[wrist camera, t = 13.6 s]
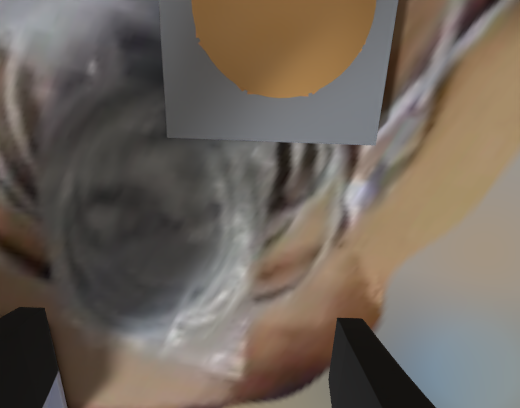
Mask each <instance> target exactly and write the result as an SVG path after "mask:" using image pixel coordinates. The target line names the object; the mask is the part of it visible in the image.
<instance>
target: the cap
mask: <svg viewBox="0 0 520 408" xmlns="http://www.w3.org/2000/svg"><path fill="white" fill-rule="evenodd" d="M191 2H192V13H193V18H194V23H195V27H196V38H199V39H200V42H199V43H198V44H199V45H200V46H201V47H202V48H203V49H204V50H205V51H206V53H207V54H208V56H209V58H210V59H211V61H212V62H213V63H214V64H215V66H216V67H217V68H218V69H219V70H220V71H221V72H222V73H223V74H224V75H225V76H226V77H227V78H228V79H229V80H231V81H232V82H234V83H235V84H236V85H237V86H238V87H239V89H240V90H241V91H242V92H243V91H244V90H247V94H256V95H262V96H266V97H273V98H291V97H298V96H308V95H309V93H312V94H315V93H316V92H317V91H318V90H319V89H321V88H323V87H324V86H326V85H328V84H329V83H331V82H332V81H334V80H335V79H336V78H337V77H339V76H340V75H341V74H342V73H343V72H344V71H345V70H346V69H347V68H348V67H349V66H350V65H351V63H352V62H353V61H354V59H355V58H356V57H357V55H358V54H359V53H360V52H361V51H362V47H363V45H365V43H366V39H367V37H368V34H369V32H370V29H371V26H372V22H373V19H374V14H375V9H376V0H191Z"/></svg>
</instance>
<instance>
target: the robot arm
mask: <svg viewBox="0 0 520 408" xmlns="http://www.w3.org/2000/svg"><path fill="white" fill-rule="evenodd" d="M329 388H330V396H331V404H332V408H436V407H435V406H434V405H433V404H432V403H431V402H430V401H429V399H428V398H427V397H426V396H425V395H424V394H423V393H422V392H421V390H420V389H419V388H418V387H417V386H416V384H415V383H414V382H413V381H412V380H411V379H410V377H409V376H408V375H407V374H406V373H405V372H404V370H403V369H402V368H401V367H400V366H399V364H398V363H397V362H396V361H395V359H394V358H393V357H392V356H391V354H390V353H389V352H388V351H387V349H386V348H385V347H384V346H383V344H382V343H381V342H380V341H379V339H378V338H377V337H376V335H375V334H374V333H373V331H372V330H371V329H370V328H369V326H368V325H367V324H366V322H365V321H364V320H363V319H359V318H337V323H336V330H335V337H334V344H333V351H332V358H331V365H330V372H329ZM0 408H67V404H66V399H65V395H64V391H63V386H62V382H61V378H60V373H59V369H58V365H57V360H56V356H55V352H54V347H53V343H52V339H51V334H50V330H49V326H48V321H47V317H46V313H45V308H30V307H19V308H17V309H15V310H14V311H12V312H10V313H8V314H7V315H5V316H3V317H1V318H0Z"/></svg>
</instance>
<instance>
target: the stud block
mask: <svg viewBox="0 0 520 408" xmlns="http://www.w3.org/2000/svg"><path fill="white" fill-rule="evenodd" d="M397 6H398V0H376V9H375V14H374V19H373V22H372V26H371V29H370V32H369V34H368V37H367V39H366V43H365V45H363V47H362V51H361V52H360V53H359V54H358V55H357V57H356V58H355V59H354V61H353V62H352V63H351V65H350V66H349V67H348V68H347V69H346V70H345V71H344V72H343V73H342V74H341V75H340V76H339V77H337V78H336V79H335V80H334V81H332V82H331V83H329V84H328V85H326V86H324V87H323V88H321V89H319V90H318V91H317V92H316V93H315V94H312V93H309V95H308V96H298V97H291V98H273V97H266V96H262V95H256V94H247V90H244V91H243V92H242V91H241V90H240V89H239V87H238V86H237V85H236V84H235V83H234V82H232V81H231V80H229V79H228V78H227V77H226V76H225V75H224V74H223V73H222V72H221V71H220V70H219V69H218V68H217V67H216V66H215V64H214V63H213V62H212V61H211V59H210V58H209V56H208V54H207V53H206V51H205V50H204V49H203V48H202V47H201V46H200V45H199V44H198V43H199V42H200V39H199V38H196V27H195V23H194V18H193V13H192V2H191V0H159V15H160V31H161V47H162V64H163V80H164V96H165V112H166V129H167V138H188V139H215V140H243V141H270V142H298V143H325V144H352V145H376V139H377V133H378V126H379V120H380V114H381V107H382V101H383V95H384V88H385V82H386V76H387V69H388V63H389V56H390V50H391V44H392V37H393V31H394V25H395V18H396V12H397Z"/></svg>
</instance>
